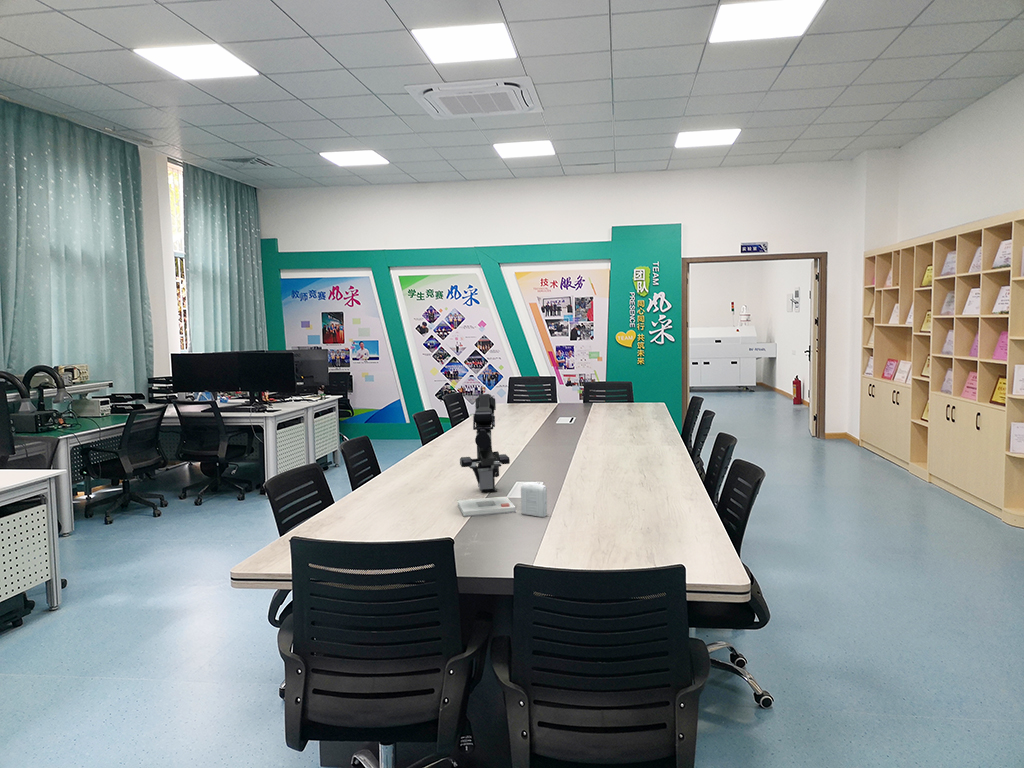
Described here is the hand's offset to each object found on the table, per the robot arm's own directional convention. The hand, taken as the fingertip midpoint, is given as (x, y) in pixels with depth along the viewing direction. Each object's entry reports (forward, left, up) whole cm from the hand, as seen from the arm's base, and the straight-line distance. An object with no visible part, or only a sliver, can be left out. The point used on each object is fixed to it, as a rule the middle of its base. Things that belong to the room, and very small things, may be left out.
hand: (485, 482), depth 260 cm
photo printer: (+13, +16, -11) cm, 23 cm away
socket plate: (0, 0, -11) cm, 11 cm away
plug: (0, 0, -2) cm, 2 cm away
